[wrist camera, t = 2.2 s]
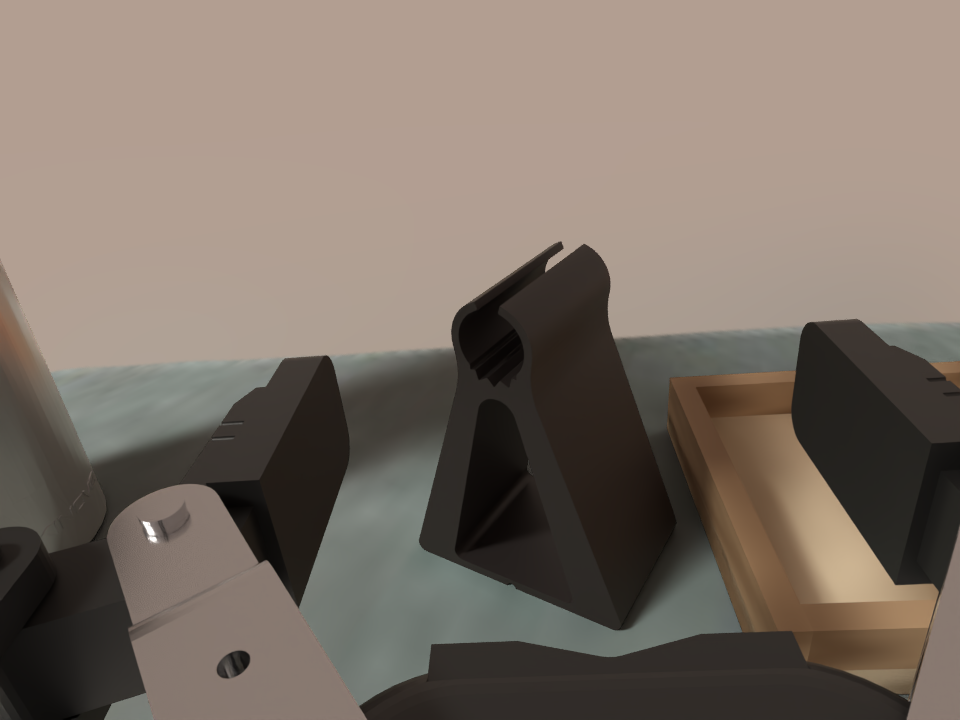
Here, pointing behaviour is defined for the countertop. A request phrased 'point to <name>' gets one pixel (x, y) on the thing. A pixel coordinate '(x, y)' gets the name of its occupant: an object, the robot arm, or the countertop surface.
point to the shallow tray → (791, 530)
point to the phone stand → (548, 446)
